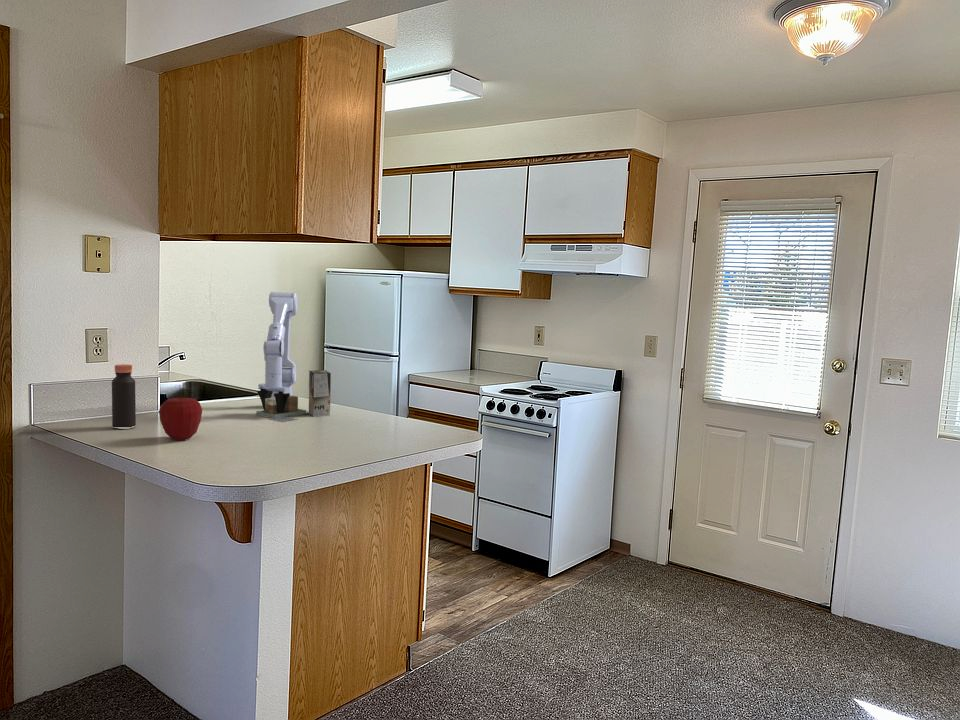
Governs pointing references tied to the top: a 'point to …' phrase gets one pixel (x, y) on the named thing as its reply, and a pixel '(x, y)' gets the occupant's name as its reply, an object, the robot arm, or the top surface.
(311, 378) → the coffee box
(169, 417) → the apple
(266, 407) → the labelled block
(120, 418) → the bottle
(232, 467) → the top surface
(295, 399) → the plain block
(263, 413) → the tray
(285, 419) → the mat
